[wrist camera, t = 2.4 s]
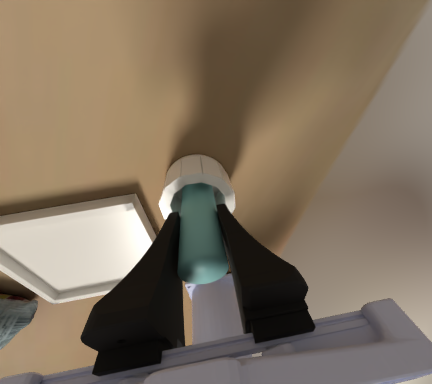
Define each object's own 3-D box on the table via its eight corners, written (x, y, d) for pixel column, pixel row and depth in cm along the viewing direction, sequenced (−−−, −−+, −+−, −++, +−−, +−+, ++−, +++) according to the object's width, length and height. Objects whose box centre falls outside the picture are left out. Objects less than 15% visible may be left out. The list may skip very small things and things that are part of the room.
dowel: (213, 196, 17) (230, 278, 10) (185, 200, 17) (183, 287, 10) (209, 171, 16) (226, 250, 9) (179, 176, 15) (171, 260, 9)
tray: (173, 271, 25) (172, 281, 23) (59, 292, 24) (52, 304, 23) (135, 193, 17) (131, 202, 15) (-37, 222, 16) (-56, 234, 15)
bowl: (229, 201, 19) (236, 225, 16) (174, 211, 18) (171, 237, 16) (224, 149, 15) (232, 167, 12) (157, 160, 15) (149, 181, 12)
